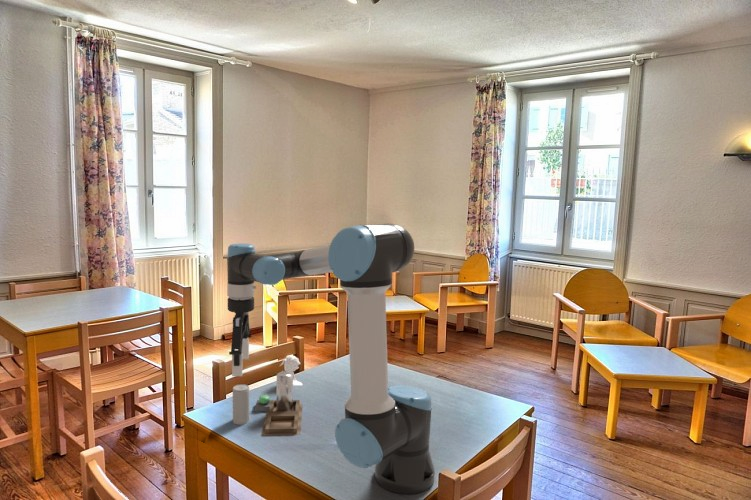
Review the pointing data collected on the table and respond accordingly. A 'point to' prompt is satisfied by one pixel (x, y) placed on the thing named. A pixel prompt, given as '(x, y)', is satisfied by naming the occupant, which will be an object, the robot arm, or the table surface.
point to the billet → (284, 391)
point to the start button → (264, 399)
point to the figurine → (291, 367)
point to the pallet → (281, 419)
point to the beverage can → (240, 404)
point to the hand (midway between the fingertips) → (240, 366)
